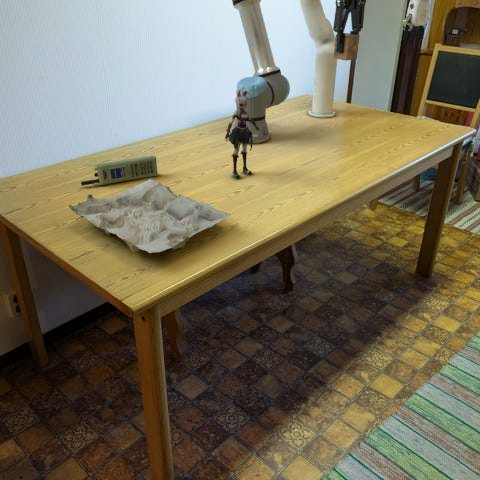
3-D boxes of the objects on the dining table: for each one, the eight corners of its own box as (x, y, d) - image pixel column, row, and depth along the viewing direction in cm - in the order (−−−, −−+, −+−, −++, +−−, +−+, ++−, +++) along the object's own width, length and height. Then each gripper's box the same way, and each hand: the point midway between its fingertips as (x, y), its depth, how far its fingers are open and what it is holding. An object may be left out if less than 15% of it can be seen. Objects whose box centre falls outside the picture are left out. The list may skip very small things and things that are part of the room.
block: (346, 60, 180) (348, 36, 176) (333, 58, 184) (335, 34, 180) (356, 58, 183) (359, 34, 179) (344, 56, 187) (346, 33, 183)
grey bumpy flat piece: (148, 192, 160) (63, 221, 139) (147, 174, 157) (60, 201, 136) (236, 233, 139) (152, 274, 118) (238, 213, 136) (151, 251, 115)
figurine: (229, 182, 166) (230, 89, 151) (218, 177, 170) (217, 86, 155) (261, 171, 175) (264, 82, 160) (249, 166, 178) (251, 79, 164)
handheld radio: (158, 176, 170) (83, 189, 160) (155, 173, 172) (80, 186, 162) (156, 157, 167) (79, 169, 157) (153, 154, 169) (77, 166, 159)
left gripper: (343, -20, 163) (336, 55, 174) (380, -21, 174) (370, 50, 185) (326, -21, 168) (320, 52, 179) (362, -22, 179) (354, 47, 190)
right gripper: (416, -4, 200) (408, 42, 208) (440, -5, 210) (432, 39, 218) (400, -5, 205) (393, 40, 213) (424, -6, 215) (416, 37, 223)
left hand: (345, 51), depth 182 cm, fingers closed on block, 6 cm apart
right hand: (412, 39), depth 216 cm, fingers open, 9 cm apart
